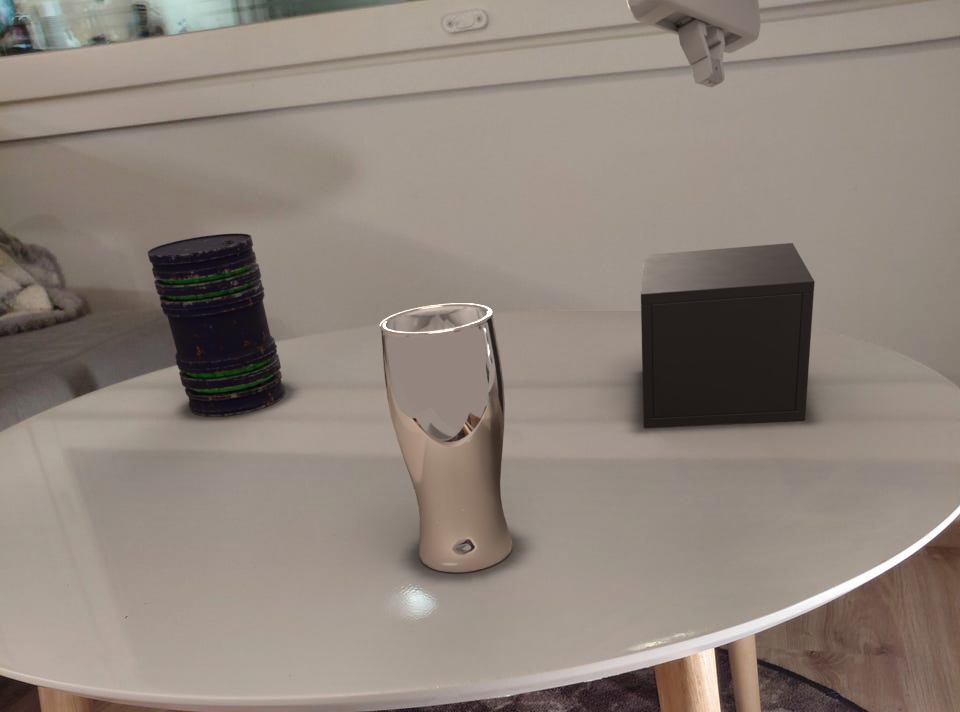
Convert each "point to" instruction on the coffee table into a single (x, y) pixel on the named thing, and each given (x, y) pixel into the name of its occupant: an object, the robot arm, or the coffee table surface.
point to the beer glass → (450, 429)
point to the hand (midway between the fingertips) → (710, 83)
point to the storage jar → (218, 323)
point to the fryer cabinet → (725, 336)
